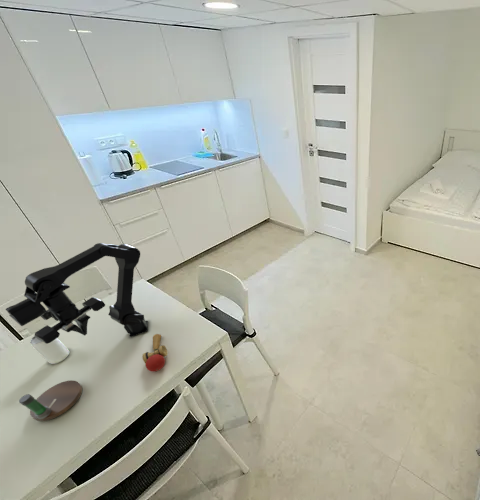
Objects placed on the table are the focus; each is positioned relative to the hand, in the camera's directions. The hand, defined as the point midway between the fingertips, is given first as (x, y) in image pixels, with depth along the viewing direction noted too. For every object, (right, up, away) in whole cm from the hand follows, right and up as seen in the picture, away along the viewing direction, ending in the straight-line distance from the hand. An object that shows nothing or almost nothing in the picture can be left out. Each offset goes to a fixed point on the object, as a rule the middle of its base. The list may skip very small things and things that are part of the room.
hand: (85, 334), depth 105 cm
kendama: (+22, -11, +7) cm, 26 cm away
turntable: (-2, -20, -8) cm, 22 cm away
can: (-17, -11, +7) cm, 21 cm away
